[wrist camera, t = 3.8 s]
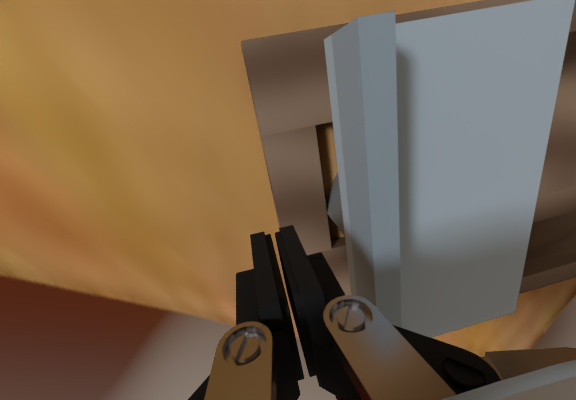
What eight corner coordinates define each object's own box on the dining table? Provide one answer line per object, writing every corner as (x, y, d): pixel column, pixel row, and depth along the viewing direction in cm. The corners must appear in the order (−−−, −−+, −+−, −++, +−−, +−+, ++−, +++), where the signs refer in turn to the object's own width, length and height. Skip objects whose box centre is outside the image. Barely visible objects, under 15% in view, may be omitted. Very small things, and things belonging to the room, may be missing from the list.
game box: (241, 44, 14) (244, 15, 9) (679, -30, 16) (866, -84, 12) (295, 303, 20) (314, 368, 15) (604, 218, 23) (704, 251, 18)
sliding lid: (323, 39, 9) (357, 17, 7) (551, 0, 10) (658, -33, 8) (356, 345, 15) (381, 397, 12) (502, 302, 16) (554, 341, 13)
